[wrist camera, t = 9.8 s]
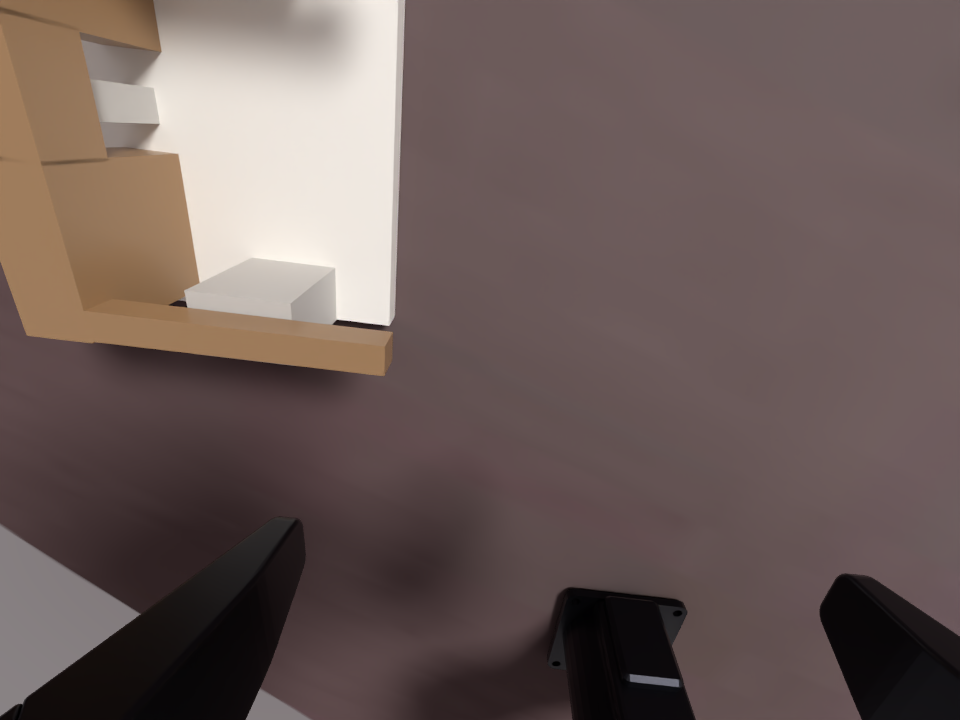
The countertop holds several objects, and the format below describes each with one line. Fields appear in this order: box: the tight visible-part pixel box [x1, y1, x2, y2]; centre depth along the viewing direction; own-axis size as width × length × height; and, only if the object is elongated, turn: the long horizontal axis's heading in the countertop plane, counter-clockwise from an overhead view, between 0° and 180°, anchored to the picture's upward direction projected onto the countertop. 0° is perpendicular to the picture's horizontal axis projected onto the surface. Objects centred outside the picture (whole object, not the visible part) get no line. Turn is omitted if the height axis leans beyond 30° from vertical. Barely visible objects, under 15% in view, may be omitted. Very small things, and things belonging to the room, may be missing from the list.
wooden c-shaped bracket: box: [0, 0, 393, 376], centre depth 12 cm, size 10×12×5 cm
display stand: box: [81, 0, 405, 366], centre depth 13 cm, size 12×13×5 cm
